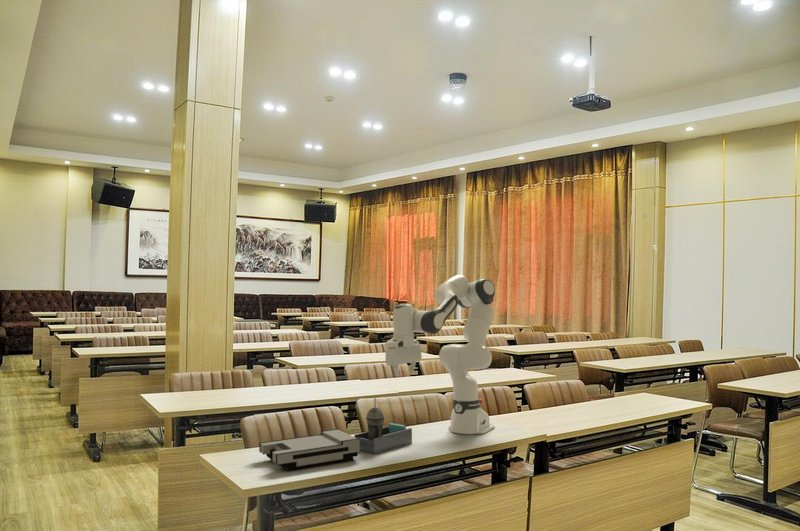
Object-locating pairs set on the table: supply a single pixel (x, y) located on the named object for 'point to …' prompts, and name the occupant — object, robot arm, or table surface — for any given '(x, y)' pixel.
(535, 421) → the table surface
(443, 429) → the table surface
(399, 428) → the pusher
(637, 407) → the table surface
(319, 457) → the game console
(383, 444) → the grey open box
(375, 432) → the beverage cup
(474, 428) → the robot arm
